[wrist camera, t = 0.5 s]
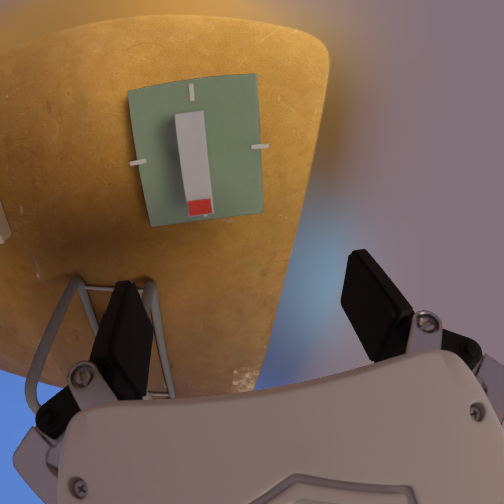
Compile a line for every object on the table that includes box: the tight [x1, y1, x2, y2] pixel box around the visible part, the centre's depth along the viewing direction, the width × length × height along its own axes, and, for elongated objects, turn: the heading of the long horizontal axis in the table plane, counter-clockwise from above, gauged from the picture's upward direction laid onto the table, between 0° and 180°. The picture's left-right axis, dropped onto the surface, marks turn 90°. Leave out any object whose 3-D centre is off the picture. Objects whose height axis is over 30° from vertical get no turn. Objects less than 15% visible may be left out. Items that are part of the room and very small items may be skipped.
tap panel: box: [128, 74, 269, 227], centre depth 21 cm, size 12×11×3 cm
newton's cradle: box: [25, 277, 176, 415], centre depth 28 cm, size 30×10×18 cm, turn 173°
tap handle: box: [174, 108, 214, 217], centre depth 18 cm, size 7×2×5 cm, turn 3°
